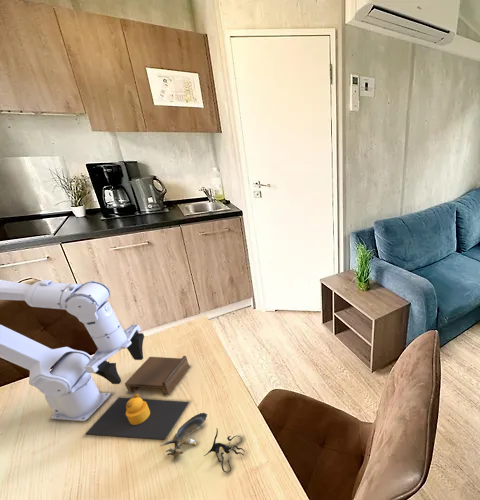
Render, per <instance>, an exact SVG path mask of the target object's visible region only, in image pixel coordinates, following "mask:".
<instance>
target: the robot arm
mask: <svg viewBox="0 0 480 500" xmlns="http://www.w3.org/2000/svg"><path fill="white" fill-rule="evenodd" d="M110 297H111V290H110V288H109V287H108V286H107V285H106V284H104V283H102V282H99V281H95V280H89V281H86V282H84V283H66V282H57V281H53V280H51V279H43V280H38V281H36V282H34V283H32V284H28V283H22V282H17V281H10V280H5V279H0V300H3V301H24V302H25V303H26V304H27V305H28V306H29V307H32V308H42V309H54V310H65V311H66V312H67V313H68V314H70V315H71V316H74V317H75V318H76V319H78V321H79V323H80V322H81V323H82V324H83V326H84V327H85V329H86V330H87V332H88V334H89V335H90V337H91V339H92V341H93V342H94V344H95V346H96V348H97V349H96V351H95V353H94V354H93V355H90V354H89V353H88V352H86V351H84V350H77V349H73V348H71V347H69V346H63V347H57V348H50V347H49V346H46V345H44V344H42V343H41V342H38V341H36V340H34V339H31V338H30V337H27V336H25V335H24V334H21V333H19V332H17V331H15V330H13V329H11V328H9V327H7V326H4V325H2V324H0V359H3V360H5V361H8V362H10V363H12V364H14V365H16V366H19V367H21V368H23V369H25V370H28V371H29V378H28V385H30V386H32V387H34V388H36V389H37V390H38V391H39V392H40V393H42V395H44V399H45V401H46V403H47V404H48V406H49V407H50V409H51V410H52V412H53V415H52V416H51V417H50V418H51V419H52V420H61V421H77V422H86V421H88V420H89V419H90V417H91V416H93V414H94V413H95V412H96V411H97V410H98V409H99V408H100V407H101V406H102V405H103V404H104V403H105V402H106V401H107V399H109V398H110V397H111V395H112V394H111V393H110V392H101V391H100V390H99V388H98V386H97V384H96V382H95V380H94V378H93V376H92V374H95V375H98V376H100V377H101V378H104V379H105V380H107V381H108V382H109V383H111V384H112V385H120V384H121V383H122V378H121V376H120V374H119V373H118V369H117V363H116V362H110V361H107V360H108V359H109V358H112V356H115V354H117V353H119V352H120V351H121V350H123V349H124V350H125V349H127V350H128V352H129V354H130V355H131V357H132V359H133V360H134V361H143V359H144V351H143V344H144V339H145V334H144V333H143V332H141V331H142V328H141V326H140V325H139V324H138V323H137V324H131V325H130V326H128V327H127V328H125V329H123V326H122V325H121V323H120V321H119V319H118V317H117V315H116V313H115V311H114V309H113V308H112V306H111V304H110V302H109V298H110Z"/></svg>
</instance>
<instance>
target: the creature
mask: <svg viewBox="0 0 480 500" xmlns="http://www.w3.org/2000/svg"><path fill="white" fill-rule="evenodd" d="M218 433H219V430H218V427H216V432H215V436H214V438H213V443H212V446H211V448H210V449H209V450H208V451H207V453H206V454H204V455H203V457H206V456H207V455H208V454H210V453H212V452H213V453H215V455H216V457H217V460H218V463H221V464H220V465H221V470H222V472H224V473H230V472H231V471H232V467H231V465H230V459H227V460H226V463H227V462H228V466H229V468H230V469H229V470H228V471H226V470H225V469H224V465H223V464H224V459H225V457H224V456H223V455H224V453H225V454H227V455H229V454H230V453H231V451H232V452H234V455H239V454H240V455H242V456H245V454H244V453H246V451H245V449H243V448H242V447H238V446H237V445H239V444H240V442H243V439H242V437H241V436H240V435H238V437H240V442H237V444H234V445H231V442H232V440H234V439H235V438H236V437H237V435H234V436H231V435H228V436H227V437H226V440H227V441H228V443H227V444H224V443H222V442H217V438H218ZM220 448H222V449H223V452H221V453H220V450H221V449H220ZM234 448H236V449H234ZM236 450H237V451H236ZM240 450H241V451H243V452H244V453H242V452H241V451H240ZM218 454H220V457H221V459H220V458H219V456H218Z"/></svg>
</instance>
